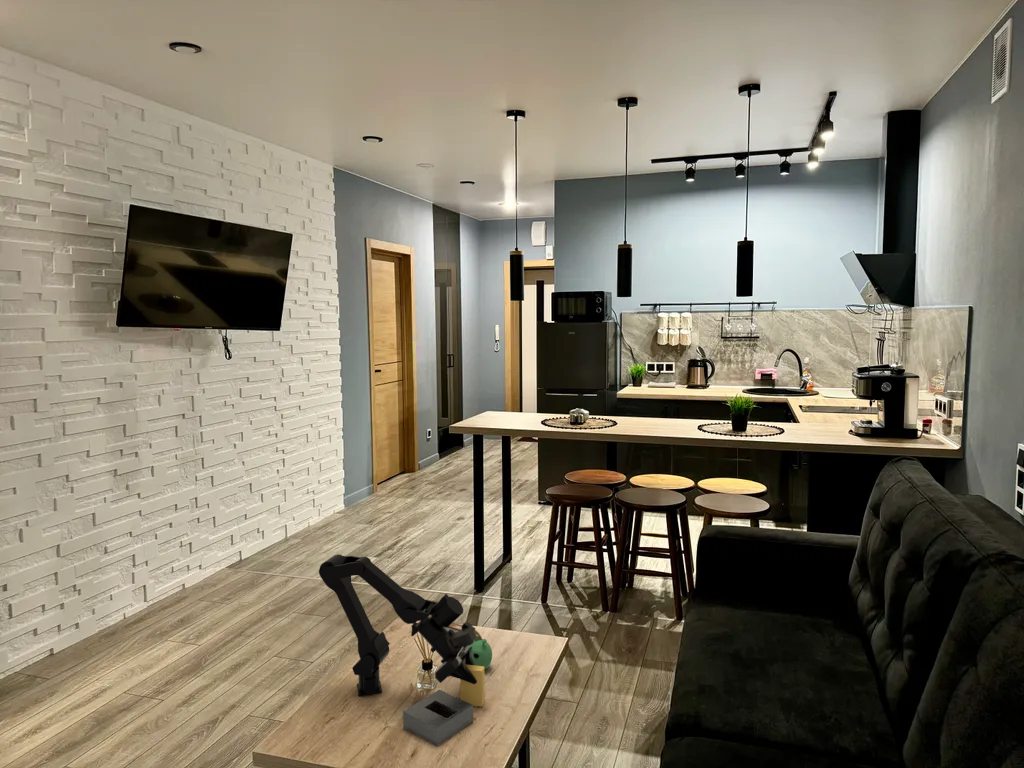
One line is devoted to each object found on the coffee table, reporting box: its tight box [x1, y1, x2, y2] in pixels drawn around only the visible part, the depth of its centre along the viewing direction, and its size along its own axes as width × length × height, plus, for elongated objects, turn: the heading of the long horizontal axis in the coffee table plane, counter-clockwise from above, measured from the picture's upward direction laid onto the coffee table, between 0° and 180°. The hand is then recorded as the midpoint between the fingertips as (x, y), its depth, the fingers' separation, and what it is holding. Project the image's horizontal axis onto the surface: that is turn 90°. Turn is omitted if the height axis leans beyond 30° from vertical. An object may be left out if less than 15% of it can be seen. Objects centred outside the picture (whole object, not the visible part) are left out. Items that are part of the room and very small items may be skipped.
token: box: [459, 665, 486, 707], centre depth 188 cm, size 6×2×10 cm, turn 76°
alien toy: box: [469, 634, 493, 670], centre depth 206 cm, size 7×8×10 cm
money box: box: [402, 689, 474, 747], centre depth 178 cm, size 12×13×4 cm
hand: (477, 680), depth 187 cm, fingers closed on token, 2 cm apart
